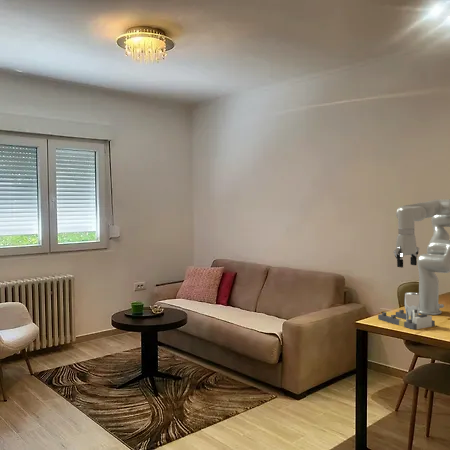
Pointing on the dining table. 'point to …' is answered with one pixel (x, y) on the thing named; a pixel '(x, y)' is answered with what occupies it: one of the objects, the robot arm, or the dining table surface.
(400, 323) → the cable comb
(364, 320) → the dining table surface
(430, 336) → the dining table surface
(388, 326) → the dining table surface
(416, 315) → the beer glass
